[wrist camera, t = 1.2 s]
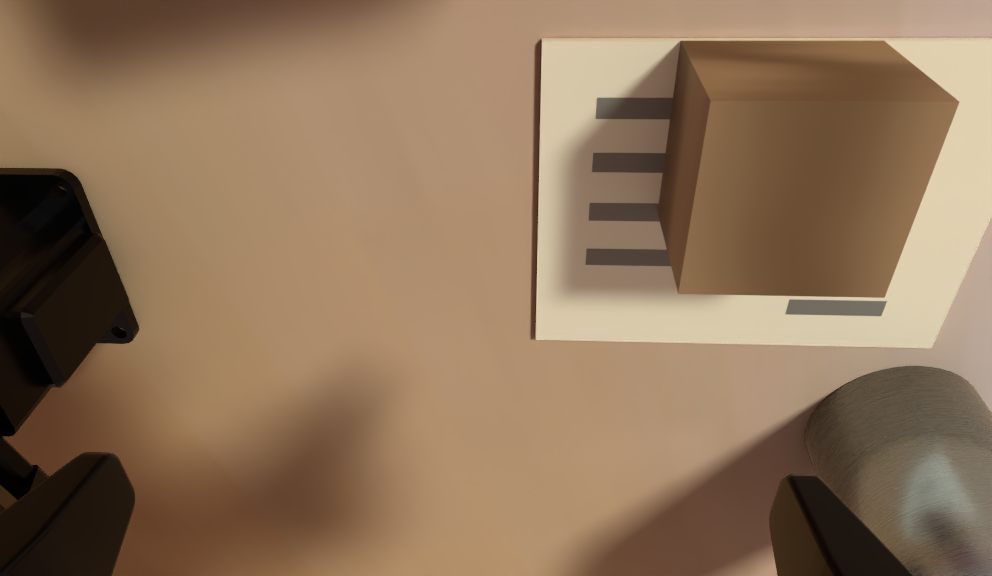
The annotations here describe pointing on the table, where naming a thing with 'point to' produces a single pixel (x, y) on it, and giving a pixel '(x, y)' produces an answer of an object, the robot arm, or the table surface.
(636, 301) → the letter
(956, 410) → the bottle
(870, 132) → the walnut block
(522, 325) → the table surface
